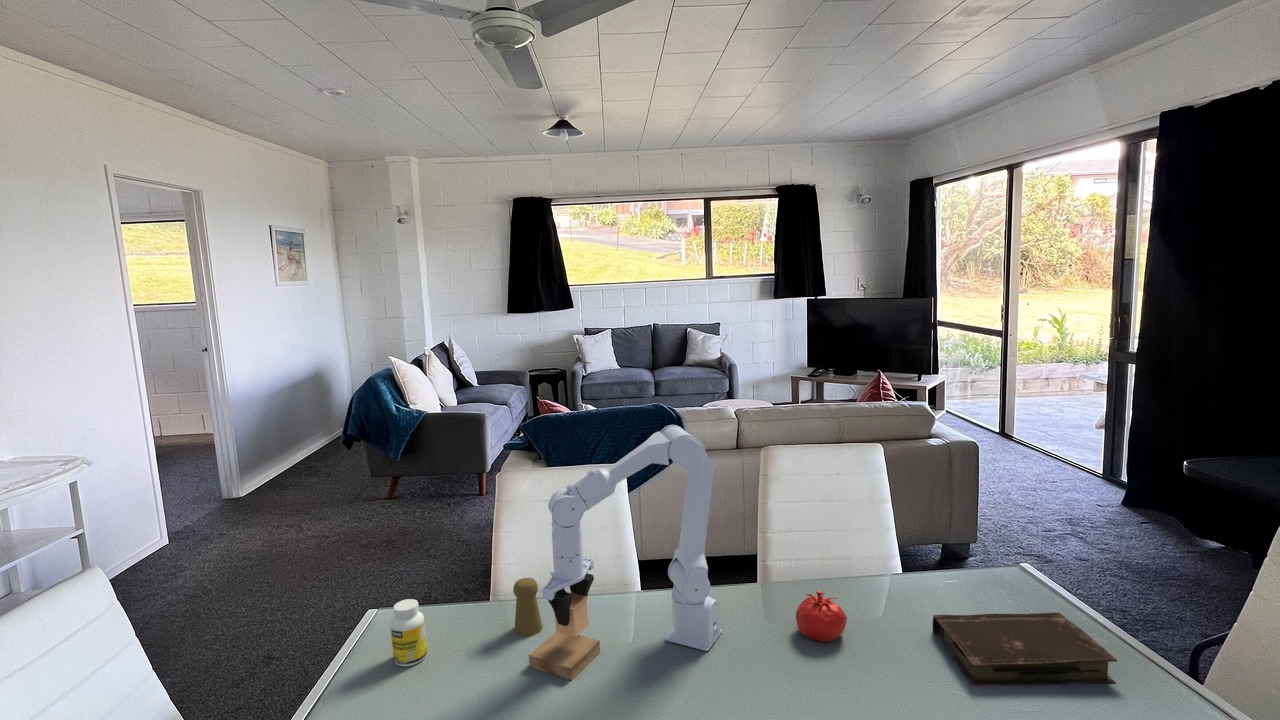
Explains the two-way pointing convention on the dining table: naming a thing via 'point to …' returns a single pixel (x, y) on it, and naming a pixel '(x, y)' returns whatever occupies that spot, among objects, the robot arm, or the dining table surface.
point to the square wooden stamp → (575, 617)
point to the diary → (1023, 649)
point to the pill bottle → (408, 633)
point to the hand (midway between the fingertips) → (571, 617)
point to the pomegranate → (820, 618)
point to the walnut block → (564, 655)
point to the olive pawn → (527, 608)
